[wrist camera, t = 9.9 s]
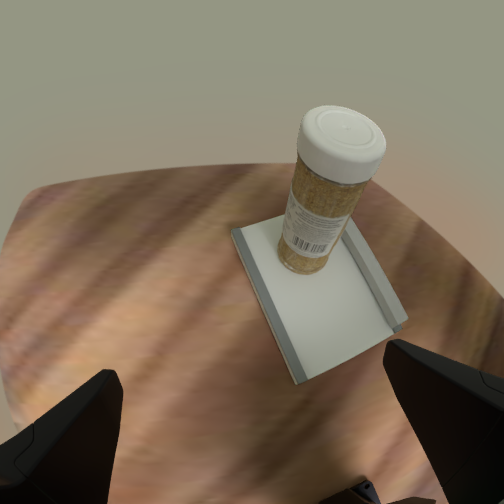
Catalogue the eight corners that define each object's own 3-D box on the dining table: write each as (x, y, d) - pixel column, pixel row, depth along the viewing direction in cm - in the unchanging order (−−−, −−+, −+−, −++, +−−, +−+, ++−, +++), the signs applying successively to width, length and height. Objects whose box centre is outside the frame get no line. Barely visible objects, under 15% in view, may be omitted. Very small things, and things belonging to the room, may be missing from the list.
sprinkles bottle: (335, 246, 25) (397, 128, 13) (312, 287, 23) (375, 173, 11) (292, 221, 26) (323, 93, 14) (265, 258, 24) (284, 127, 12)
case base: (397, 331, 22) (411, 323, 20) (295, 384, 20) (301, 383, 18) (327, 206, 28) (333, 191, 26) (231, 237, 26) (230, 222, 24)
